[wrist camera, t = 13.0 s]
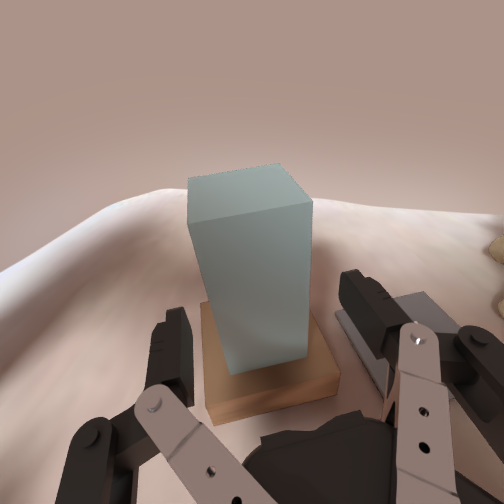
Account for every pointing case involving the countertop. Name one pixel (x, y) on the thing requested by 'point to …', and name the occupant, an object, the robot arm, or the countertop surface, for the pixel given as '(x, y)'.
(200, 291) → the countertop surface
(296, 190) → the block
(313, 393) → the stand
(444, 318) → the gray tile
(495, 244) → the jawbone
